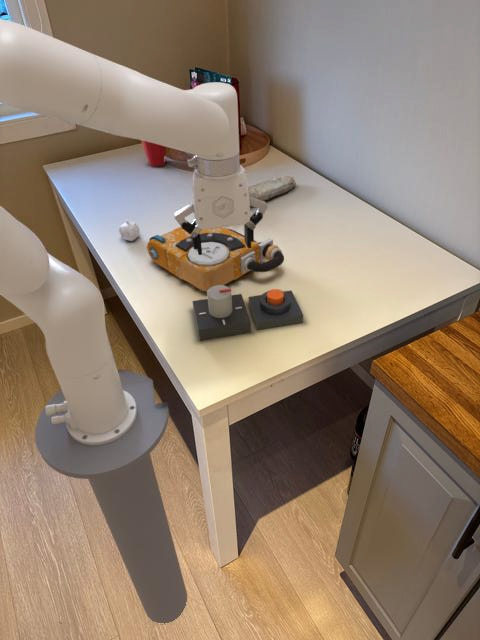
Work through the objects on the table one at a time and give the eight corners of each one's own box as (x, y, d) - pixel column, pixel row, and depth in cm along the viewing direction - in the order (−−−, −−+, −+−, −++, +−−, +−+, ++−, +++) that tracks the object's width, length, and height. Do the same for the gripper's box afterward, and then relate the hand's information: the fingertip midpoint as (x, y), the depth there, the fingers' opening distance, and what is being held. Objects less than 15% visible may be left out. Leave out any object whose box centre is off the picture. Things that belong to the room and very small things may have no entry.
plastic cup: (174, 167, 171) (169, 133, 163) (143, 171, 170) (137, 136, 162) (171, 156, 179) (167, 123, 171) (142, 159, 178) (136, 126, 170)
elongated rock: (303, 193, 155) (282, 185, 161) (304, 177, 152) (282, 169, 158) (214, 224, 137) (195, 213, 144) (213, 206, 134) (193, 196, 141)
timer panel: (199, 340, 101) (198, 329, 99) (193, 311, 109) (192, 300, 107) (251, 332, 102) (250, 321, 100) (241, 304, 110) (241, 292, 108)
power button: (269, 306, 103) (269, 300, 102) (265, 296, 106) (265, 290, 105) (285, 304, 104) (285, 297, 102) (281, 294, 106) (281, 288, 105)
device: (208, 203, 131) (292, 241, 114) (211, 230, 136) (291, 270, 119) (140, 234, 119) (222, 282, 102) (145, 262, 125) (224, 312, 108)
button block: (257, 329, 103) (257, 315, 100) (248, 304, 110) (248, 290, 107) (302, 322, 104) (303, 308, 102) (291, 297, 111) (291, 283, 108)
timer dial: (210, 319, 101) (208, 299, 98) (207, 305, 105) (205, 285, 102) (234, 316, 102) (233, 296, 99) (230, 302, 106) (228, 282, 102)
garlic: (122, 233, 137) (118, 216, 133) (141, 231, 137) (138, 215, 134) (120, 244, 132) (116, 227, 129) (140, 242, 132) (136, 225, 129)
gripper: (169, 177, 80) (181, 264, 91) (272, 165, 82) (271, 252, 93) (166, 160, 85) (177, 244, 96) (262, 149, 88) (262, 232, 99)
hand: (223, 248), depth 95 cm, fingers open, 9 cm apart
